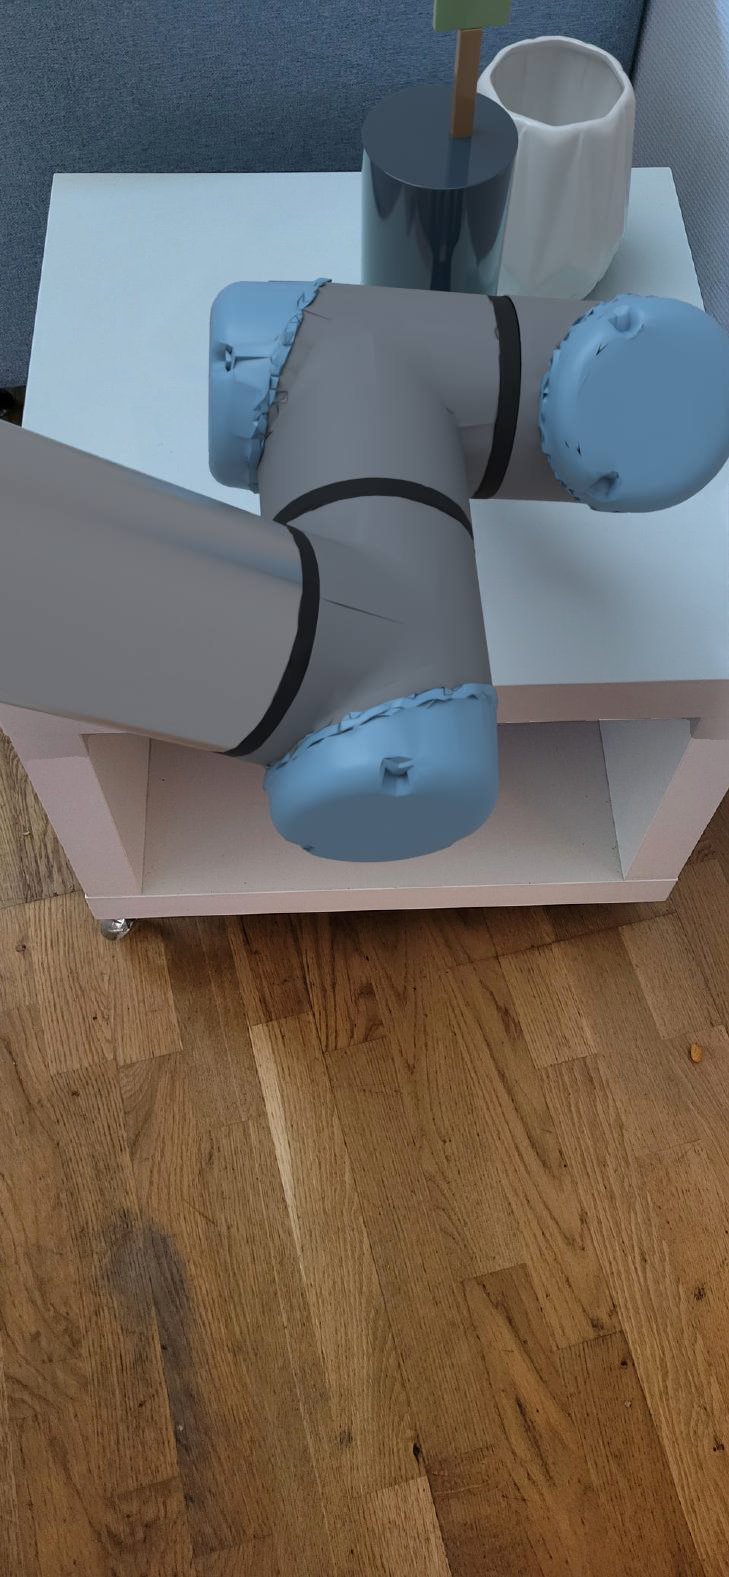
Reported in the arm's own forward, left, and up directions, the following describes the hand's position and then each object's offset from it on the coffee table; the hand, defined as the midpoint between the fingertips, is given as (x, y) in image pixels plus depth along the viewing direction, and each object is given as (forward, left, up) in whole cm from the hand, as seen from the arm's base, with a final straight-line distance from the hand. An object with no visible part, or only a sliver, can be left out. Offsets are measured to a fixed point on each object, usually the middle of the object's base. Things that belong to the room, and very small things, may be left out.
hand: (439, 396), depth 76 cm
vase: (+12, +19, -8) cm, 24 cm away
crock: (0, +6, -8) cm, 9 cm away
